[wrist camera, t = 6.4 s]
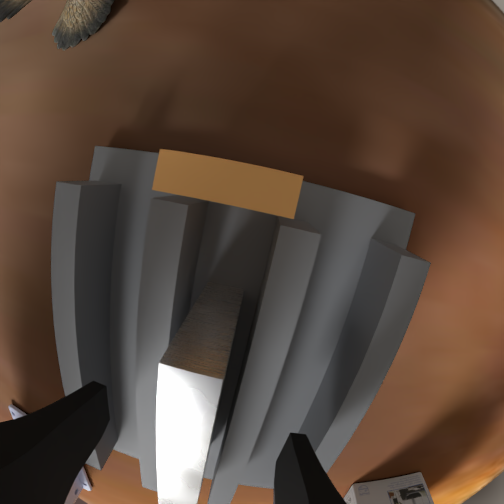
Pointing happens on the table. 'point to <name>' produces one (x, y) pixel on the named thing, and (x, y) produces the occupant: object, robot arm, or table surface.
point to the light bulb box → (391, 491)
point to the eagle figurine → (68, 18)
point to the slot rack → (252, 307)
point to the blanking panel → (193, 392)
